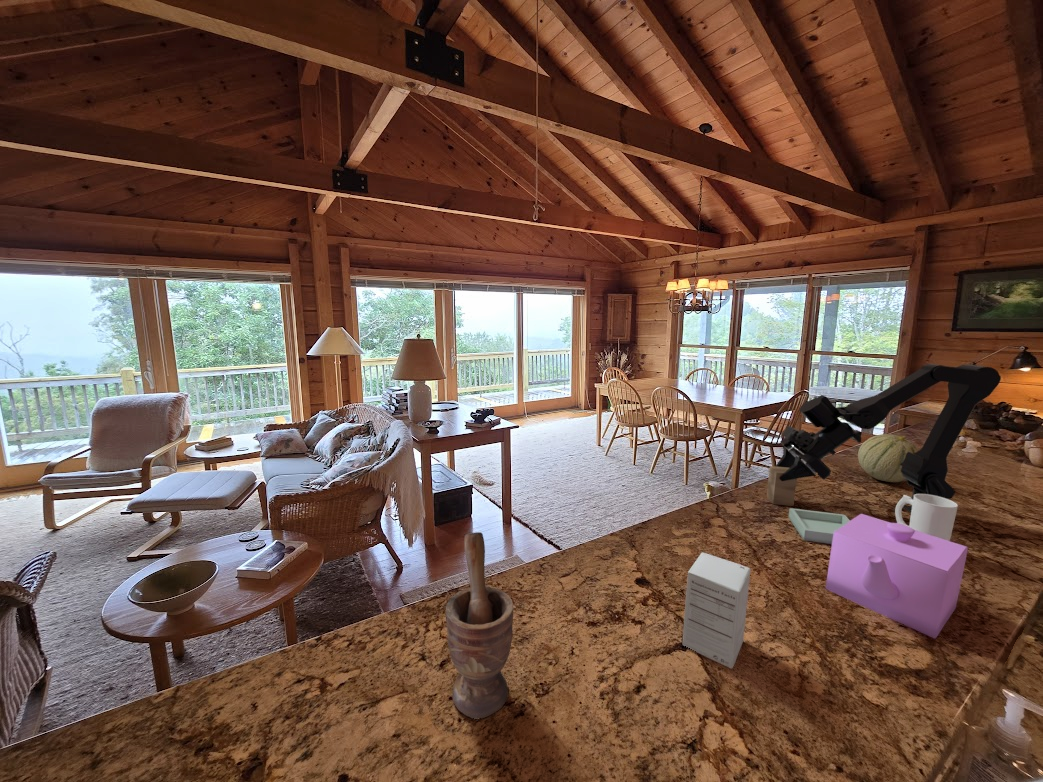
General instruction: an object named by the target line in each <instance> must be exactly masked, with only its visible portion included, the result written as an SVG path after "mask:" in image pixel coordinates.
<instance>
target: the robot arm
mask: <svg viewBox="0 0 1043 782" xmlns="http://www.w3.org/2000/svg"><path fill="white" fill-rule="evenodd" d="M1001 380H1002V376H1001V375H1000V373H999V371H998V370H997V369H996V368H993V367H990V366H982V365H976V364H967V363H965V364H961V365H959V366H950V365H949V366H948V365H943V364H937V363H927V364H924V365H922V366H921V367H920V369H918V370H916V371H914V372H913V373H911V374H909V375H908V376H906V377H903V379H901V380H899V381H897V382H896V383H894V384H893V385H891V386H889V387H888V388H885V389H884V390H883V391H881V392H879V393H877V394H875V395H872V396H868V397H865V398H861V399H858V400H856V401H854V402H851V403H849V404H847V405H846V406H839V407H838V406H835V405H834V404H833V403H831V401H830V399H829V398H828V397H827V396H826V395H823V394H821V395H819V396H818V397H814V398H811V399H810V400H807V401H805V402H804V403H803V404H802V405H801V406H800V407H799V412H800V413H801V414H802V415H803V416H804V417H805V418H806V419H807V421H808V422H810V423H811V424H812V426H813V427H815V428H821V429H820V430H818V431H817V432H816V433H815V432H813V431H812V432H811V431H810V432H808V431H806V430H804V429H801V430H798V429H797V428H795V427H792V426H790V425H787V426H786V427H785V429H784V431H782V434H781V436H782V437H784V438H783V439H782V440H781V441H780V444H781V445H782V453H783V454H782V456H781V458H780V459H779V460H778V462H777V463H776V465H775V467H789V469H788V470H787V471H786V472H785V473H783V474H782V475H781V476H780V478H779V479H780V480H781V481H787V480H792V479H801V478H808V477H814V478H815V477H817V475H818V477H820V478H821V479H822V480H825V479H827V478H829V477H830V476H831V471H832V469H830V468H829V467H828V466H827V464H826V463H825V462H823V460H822V459H824V458H826V456H828V455H829V454H830V455H832V456H834V455H835V454H837V452H836V450H837V449H838V448H839V447H840V446H842V445H843V444H845V443H846V442H848V441H849V440H853V441H855V442H857V443H859V444H860V443H862V434H863V432H862V431H860V430H859V429H863V430H870V429H874V428H876V427H877V426H878V425H879V424H880V423H882V422H883V421H884V420H885V419H887V417H888V415H889V414H890V412H891V411H893V410H895V408H898V406H900V405H902V404H904V403H905V402H907V401H909V400H911V399H912V398H914V397H915V396H918V395H919V394H921V393H923V392H924V391H926V390H927V389H930V388H931V387H933V386H935V385H936V384H938V383H940V382H945V383H947V391H948V398H947V400H946V402H945V404H944V406H943V407H942V410H941V412H940V414H939V415H938V417H937V419H936V421H935V423H934V424H933V427H932V429H931V431H930V432H929V434H928V436H927V438H926V440H925V442H924V444H923V446H922V447H921V448H920V449H918V450H919V451H917V452H916V453H914V454H913V453H911V452H908V453H907V454H906V457H905V459H904V461H903V462H902V463H901V464H900V465H901V466H902V468H901V473H902V474H903V476H904V477H905V478H906V480H905V481H906V483H907V485H908V486H911V487H912V488H913V489H912V495H911V498H912V499H913V498H914V495H915V494H928V495H934V496H939V497H942V498H946V499H949V500H952V498H953V497H954V495H955V494H956V490H955V489H954V488H953V487H952V486H951V485H950V484H949V483H948V482H947V481H946V478H947V474H948V472H949V468H948V460H947V459H948V456H949V454H950V453H951V451H952V449H953V447H954V446H955V443H956V441H957V439H958V438H959V436H960V434H961V432H962V430H963V429H964V426H965V425H966V423H967V421H968V419H969V418H970V416H971V414H972V412H973V410H974V409H975V407H976V405H977V404H978V403H980V402H981V401H983V400H985V399H986V398H988V397H989V396H991V394H992V393H993V392H994V390H995V389H997V387H998V386H999V384H1000V383H1001ZM840 419H842V420H844V421H846V422H842V421H841V420H840ZM851 425H853V426H855V427H858V428H859V429H854V428H853V427H852V426H851ZM816 474H817V475H816ZM902 508H903V509H905V510H906V511H908V512H909V513H910V514H911V510H912V505H911V504H909V505H907V504H905V505H904V506H903V507H902Z"/></svg>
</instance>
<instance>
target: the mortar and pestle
mask: <svg viewBox="0 0 1043 782" xmlns="http://www.w3.org/2000/svg"><path fill="white" fill-rule="evenodd" d="M463 543H464V547H463V548H464V553H465V561H466V567H467V572H468V577H469V586H470V587H467V588H464V589H462V590H460V591H458V592H457V593H455V594H453V596H452V597H449V600H448V602H447V603H446V605H445V615H446V634H447V636H446V637H447V645H448V650H449V656H450V658H451V660H452V663H453V666H454V668H455V670H456V671H457V672H458V673H459V674H458V676H457V677H456V679H455V681H454V684H453V688H452V692H451V693H452V695H451V696H452V702H453V704H454V706H455V707H456V709H457V710H458V711H459V712H461V713H462V714H463V715H465V716H466V717H469V718H471V719H473V718H474V719H473V720H475V719H478V718H481V719H484V718H487V717H489V716H491V715H493V714H494V713H496V712H497V711H499V710H501V709H502V707H504V705H505V702H506V703H507V700H508V698H507V696H509V689H508V688H509V687H508V683H507V680H506V678H505V676H504V675H503V674H502V670H503V668H505V665H506V663H507V661H508V658H509V654H510V652H511V649H512V648H511V647H512V642H513V632H514V631H513V621H514V603H513V600H512V599H511V597H510V595H508V593H507V592H505V591H502V590H501V589H499V588H496V587H491V586H486V578H485V562H486V559H485V558H486V547H485V539H484V535H483V533H482V532H480V531H478V532H476V531H475V532H470V533H466V534H465V535H464V540H463Z"/></svg>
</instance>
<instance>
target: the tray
mask: <svg viewBox="0 0 1043 782" xmlns="http://www.w3.org/2000/svg"><path fill="white" fill-rule="evenodd" d="M788 519H789V520H790V522H791V523H792V525H793V526H794V527H795V529H796V531H797V532H798V534H799V535H800V537H801V538H802V540H803V541H808V542H814V543H818V544H819V543H821V544H829V545H832V540H833V534H834V532H835V531H836V530H838V529H839V528H841V527H842V526H843V525H845V524H846V523H848V522H849V521H851V519H849V518H848V517H847V516H846V515H845V514H841V513H835V512H834V513H832V512H825V511H816V510H809V509H808V510H807V509H802V508H801V509H800V508H791V507H789V509H788Z"/></svg>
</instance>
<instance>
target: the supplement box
mask: <svg viewBox="0 0 1043 782" xmlns="http://www.w3.org/2000/svg"><path fill="white" fill-rule="evenodd" d="M751 571H752V570H751V568H750V567H748V566H745V565H742V564H740V563H736V562H733V561H730V560H728V559H724V558H720V557H719V556H715V555H713V554H708V553H706V552H703V551H702V552H701V553H700V554H699V556H698V557H697V558H696V560H695V562H694V563H693V564H692V566H691V567H690V569H689V570H688V572H687V579H686V580H687V581H686V582H687V583H686V593H685V603H684V604H685V605H684V607H685V608H684V618H683V632H682V646H684V647H685V646H686V648H687V647H688V648H687V649H689V648H690V649H689V650H691V649H692V650H691V651H693V650H694V652H695V651H696V652H695V653H697V654H699V655H701V656H703V657H706V658H708V659H710V660H712V661H714V662H716V663H719V664H721V665H722V666H725V667H727V668H729V669H733V668H734V665H735V664H736V661H737V658H738V656H739V653H740V650H741V648H742V645H743V643H744V640H745V639H744V637H745V628H746V627H745V626H746V619H747V617H746V615H747V609H748V608H747V607H748V597H749V591H750V590H749V588H750V578H751Z"/></svg>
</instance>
